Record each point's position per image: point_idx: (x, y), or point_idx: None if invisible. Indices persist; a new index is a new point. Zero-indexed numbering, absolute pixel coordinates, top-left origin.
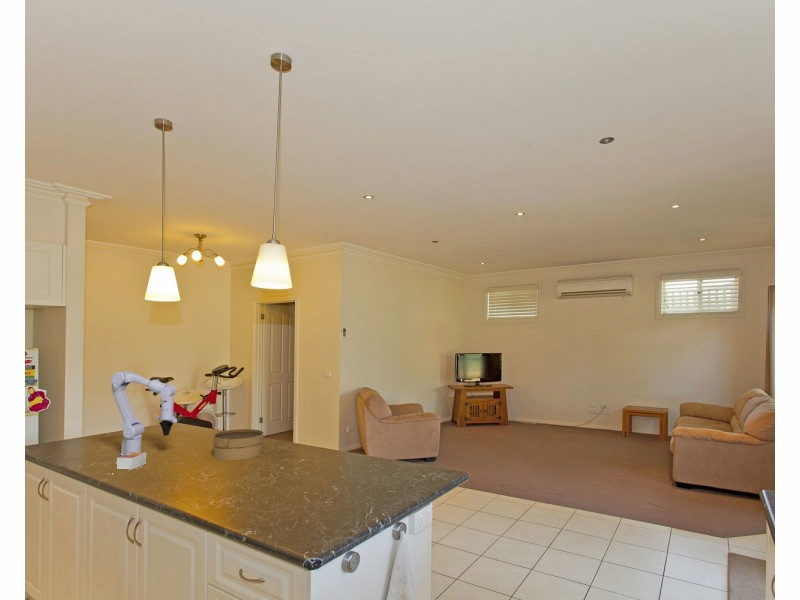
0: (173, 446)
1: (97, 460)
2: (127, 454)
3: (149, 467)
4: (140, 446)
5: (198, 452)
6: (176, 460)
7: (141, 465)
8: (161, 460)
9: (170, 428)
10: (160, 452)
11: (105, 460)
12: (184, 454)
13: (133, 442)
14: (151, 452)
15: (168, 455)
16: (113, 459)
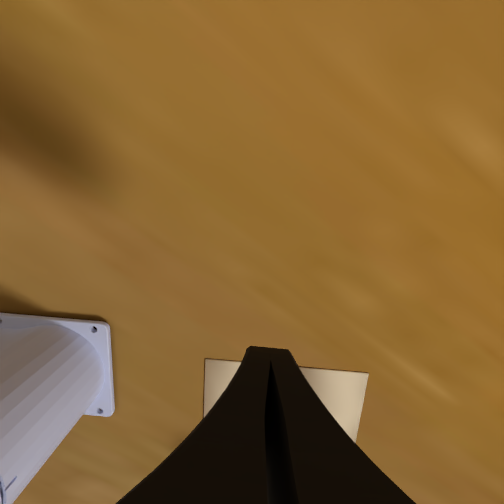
0: (25, 11)
1: (24, 500)
2: None
3: (417, 484)
4: (52, 379)
5: (438, 58)
6: (453, 324)
7: None
8: (352, 365)
9: (345, 439)
10: (142, 224)
11: (58, 486)
12: (372, 175)
13: (28, 482)
14: (85, 256)
15: (279, 257)
16: (71, 460)
